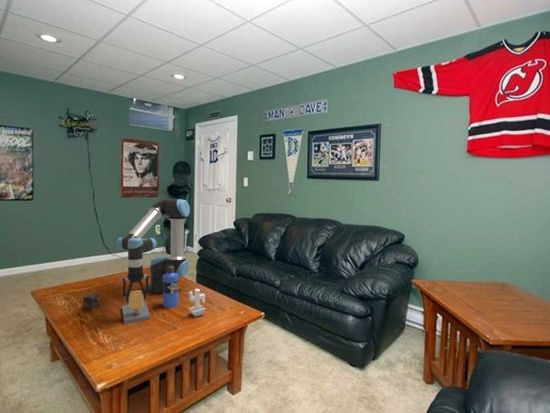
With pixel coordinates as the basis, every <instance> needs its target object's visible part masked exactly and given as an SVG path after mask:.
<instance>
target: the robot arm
mask: <svg viewBox="0 0 550 413" xmlns="http://www.w3.org/2000/svg"><path fill="white" fill-rule="evenodd" d="M147 211H148V212H147V213H146V214H145V215H144V216H143V217H142V218H141V219H140V221H138V222H137V223H136V225H135V226H134V227H133V228H132V229H131V230H130V231H129V232H128V234H126V236H122V237H121V236H120V237H119V238H118V239H117V240H116V244H115V245H116V247H117V249H118V250H122V251H127V266H128V267H127V276H125V277H122V278H121V279H122V296H123V297H126V298H125V299H126V303H128V305H129V308H130V292H131V290H132V288H133V285H134V284H135V283H138V284H139V286H140V289H141V291H142V306H144V302H145V301H144V300H146V294H147V293H151V294H161V293H162V294H163V289H164V285H163V275H164V274H166V273H167V269H168V268H167V267H168V266H170V265H172V266H173V267H174V268H173V269H174V273H177V274H178V278H184V277H185V276H186V275H187V274H188V272H189V268H190V263H189V261H188V260H186V259H187V257H186V256H185V255H184V254H185V253H184V246H185V244H184V242H185V241H184V240H185V239H184V238H185V232H184V231H185V221H186V219H187V217H189V215H190V213H191V212H190V211H191V207H190V204H189V202H188V201H187V200H185V199H180V198H179V199H178V198H177V199H176V198H175V199H174V198H164V199H163V198H162V199H161V200H159V201H157V202H155V203H154V204H152V205H151V207H149V209H148V210H147ZM164 216H165V217H166V216H167V217H168V220H170V256H158V257H157V256H156V257H154V258H151V260H150V264H149V266H150V267H149V270H150V272H149V273H150V275H149V274H144V265H143V264H144V259H143V258H144V256H143V254H145V253H148V252H151V251H153V250H155V249H156V248H157V246H158V245H157V244H158V243H157V241H156V239H155V238H153V237H146V238H143V237H144V236H145V234H146V233H148V231H149V230H150V229H151V227H153V225H154V224H155V223H156V222H157V221H158V220H160V219H161V218H162V217H164ZM143 278H144V280H145V287H144V285H143V282H142V279H143ZM149 278H150V281H149ZM127 281H129V284H128V287H127V290H126V286H127V285H126V284H127Z"/></svg>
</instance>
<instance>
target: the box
mask: <svg viewBox="0 0 550 413" xmlns="http://www.w3.org/2000/svg"><path fill="white" fill-rule="evenodd" d="M82 300H83V301H82V303H83V309H84V308H86V309H85V310H94V309H95V307H96V308H98V307H100V294H97V293H89V294H87V295H85V296H83V297H82ZM97 306H98V307H97ZM93 308H94V309H93Z"/></svg>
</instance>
